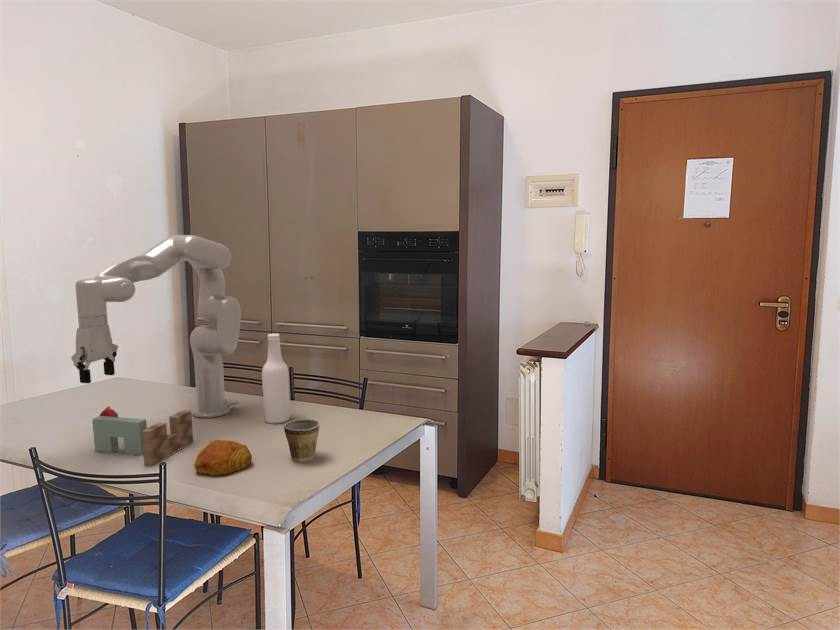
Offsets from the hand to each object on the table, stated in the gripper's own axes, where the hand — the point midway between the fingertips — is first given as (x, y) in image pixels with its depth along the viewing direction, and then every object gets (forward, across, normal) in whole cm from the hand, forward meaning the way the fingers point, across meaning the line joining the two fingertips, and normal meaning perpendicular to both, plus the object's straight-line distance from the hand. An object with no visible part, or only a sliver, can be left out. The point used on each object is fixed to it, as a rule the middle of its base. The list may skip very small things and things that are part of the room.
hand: (97, 378), depth 182 cm
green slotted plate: (+22, 0, +6) cm, 23 cm away
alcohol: (+22, -37, +38) cm, 58 cm away
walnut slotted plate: (+22, -2, +21) cm, 30 cm away
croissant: (+22, +4, +42) cm, 47 cm away
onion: (+22, -16, -12) cm, 30 cm away
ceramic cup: (+22, -8, +60) cm, 65 cm away
